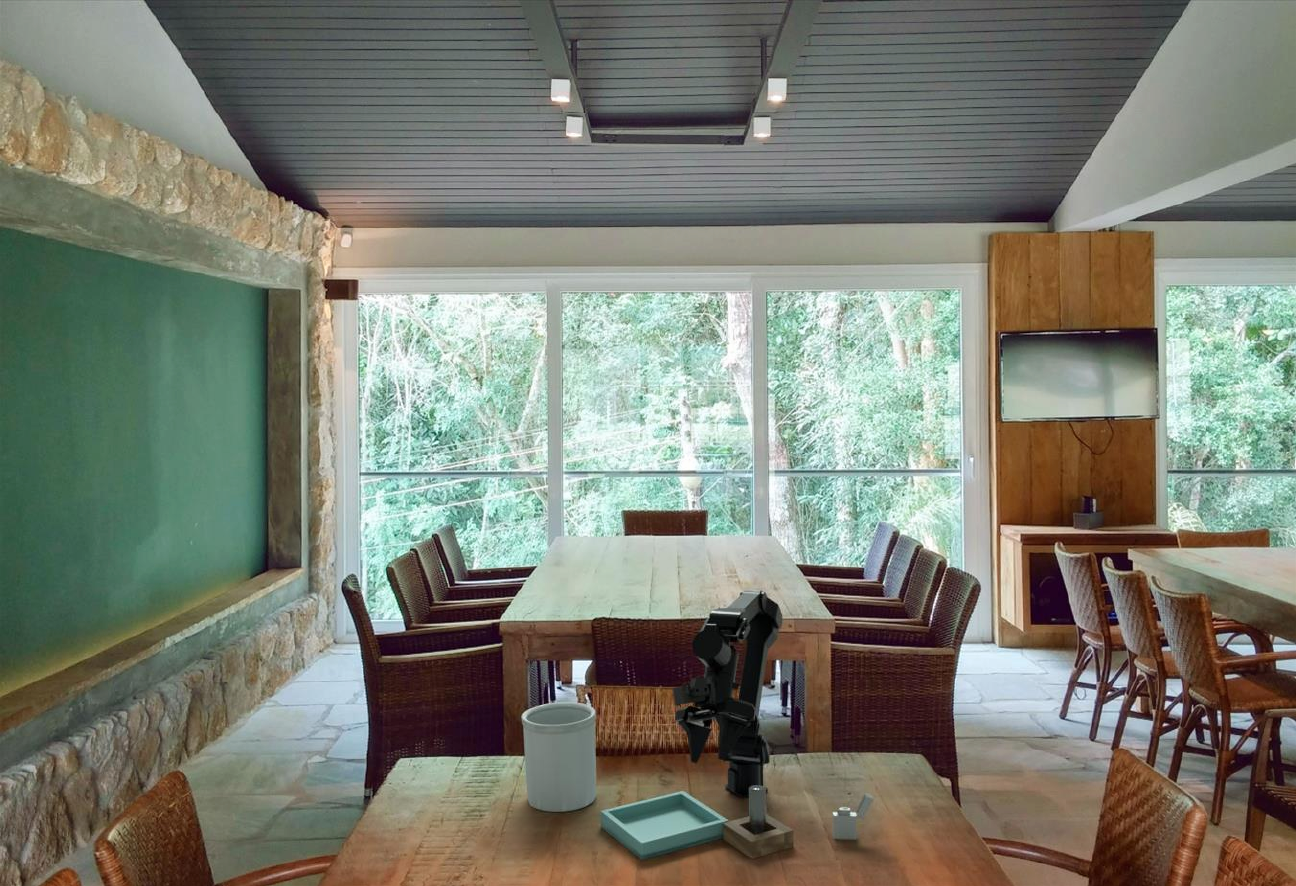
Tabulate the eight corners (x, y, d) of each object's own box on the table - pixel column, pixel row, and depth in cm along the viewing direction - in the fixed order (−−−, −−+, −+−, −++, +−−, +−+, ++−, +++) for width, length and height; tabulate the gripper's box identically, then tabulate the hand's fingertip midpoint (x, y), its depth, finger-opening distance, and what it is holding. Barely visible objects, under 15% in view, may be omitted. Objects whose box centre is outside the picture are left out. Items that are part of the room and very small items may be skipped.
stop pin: (760, 838, 185) (759, 784, 185) (769, 844, 182) (769, 789, 182) (746, 841, 184) (745, 787, 183) (756, 848, 181) (755, 793, 180)
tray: (683, 805, 200) (682, 790, 200) (728, 836, 186) (728, 820, 186) (600, 826, 191) (600, 810, 191) (642, 860, 177) (641, 843, 177)
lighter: (833, 839, 184) (833, 795, 184) (832, 834, 186) (832, 791, 185) (873, 839, 184) (873, 796, 183) (872, 835, 185) (872, 792, 185)
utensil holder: (510, 808, 201) (507, 720, 200) (545, 780, 214) (543, 698, 213) (577, 818, 195) (575, 728, 194) (609, 789, 209) (607, 705, 208)
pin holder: (763, 828, 189) (763, 812, 189) (793, 846, 181) (793, 830, 181) (723, 839, 185) (723, 823, 185) (751, 858, 177) (751, 842, 177)
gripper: (658, 670, 195) (643, 753, 188) (710, 657, 180) (696, 746, 173) (707, 686, 199) (694, 768, 192) (762, 674, 184) (750, 762, 177)
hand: (707, 761), depth 183 cm, fingers open, 9 cm apart
